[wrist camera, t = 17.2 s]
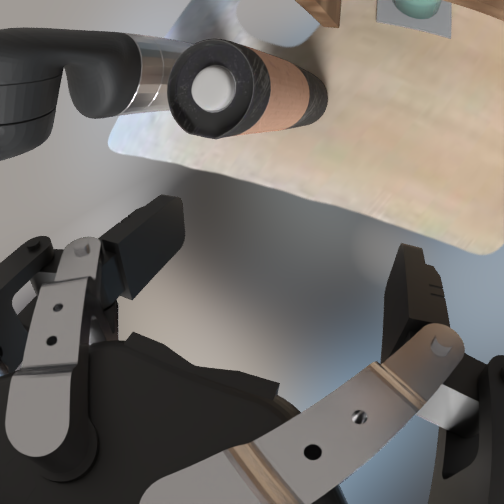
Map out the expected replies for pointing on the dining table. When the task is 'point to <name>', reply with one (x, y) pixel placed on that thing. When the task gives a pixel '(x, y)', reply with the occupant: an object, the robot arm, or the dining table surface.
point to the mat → (433, 25)
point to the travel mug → (240, 91)
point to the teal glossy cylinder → (418, 8)
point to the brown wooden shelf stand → (329, 5)
